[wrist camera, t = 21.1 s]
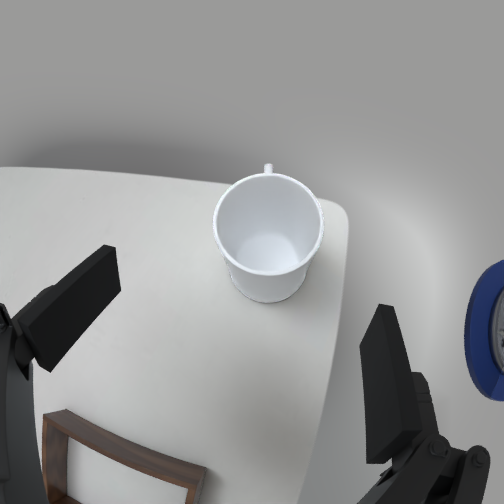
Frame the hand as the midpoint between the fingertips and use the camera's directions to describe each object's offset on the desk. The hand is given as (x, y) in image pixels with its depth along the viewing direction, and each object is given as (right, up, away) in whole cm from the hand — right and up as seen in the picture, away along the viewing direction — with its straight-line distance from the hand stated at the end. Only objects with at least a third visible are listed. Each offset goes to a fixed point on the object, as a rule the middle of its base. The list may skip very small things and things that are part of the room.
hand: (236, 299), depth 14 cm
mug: (+3, +2, +19) cm, 20 cm away
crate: (-16, -28, +11) cm, 34 cm away
